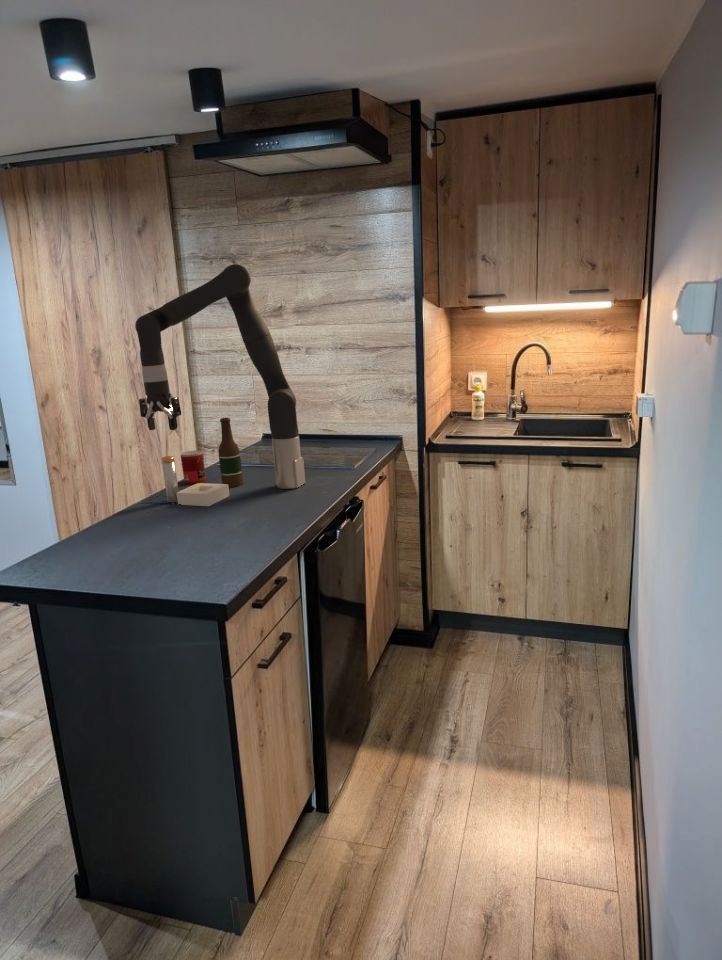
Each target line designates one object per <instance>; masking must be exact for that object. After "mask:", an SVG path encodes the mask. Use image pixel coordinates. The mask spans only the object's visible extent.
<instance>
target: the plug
mask: <svg viewBox="0 0 722 960" xmlns="http://www.w3.org/2000/svg"><path fill="white" fill-rule="evenodd" d="M175 461H176V460H175V456H174V455H167V456H162V457H161V463H162V465H161V466H162V472H163V480H164V485H165V486H164V487H165V493H166V501H167V503H168V502H176V503H178V502H177V501H178V500H177V492H179V491H180V489H179V483H178V477H177V476H178V475H177V470H176V463H175Z"/></svg>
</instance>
